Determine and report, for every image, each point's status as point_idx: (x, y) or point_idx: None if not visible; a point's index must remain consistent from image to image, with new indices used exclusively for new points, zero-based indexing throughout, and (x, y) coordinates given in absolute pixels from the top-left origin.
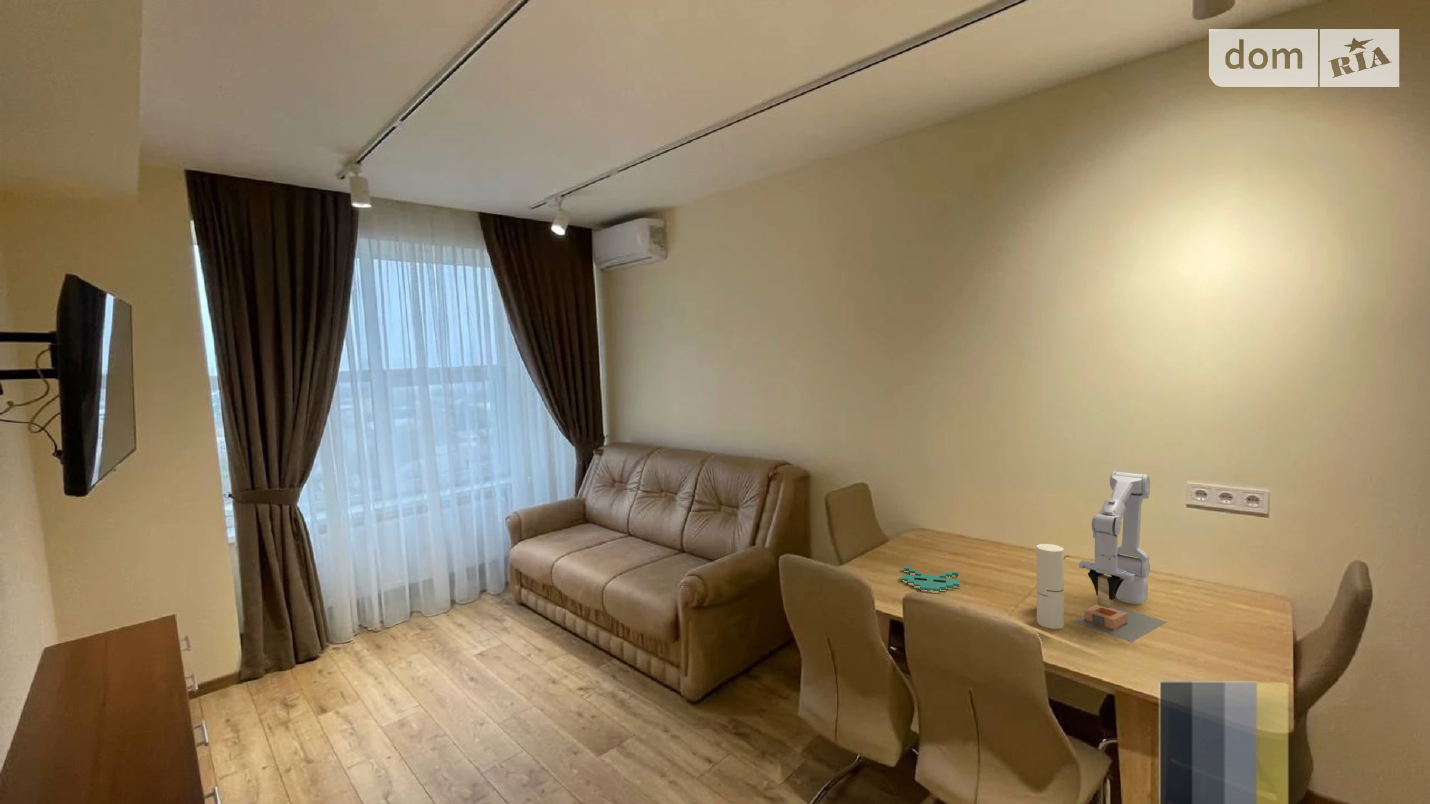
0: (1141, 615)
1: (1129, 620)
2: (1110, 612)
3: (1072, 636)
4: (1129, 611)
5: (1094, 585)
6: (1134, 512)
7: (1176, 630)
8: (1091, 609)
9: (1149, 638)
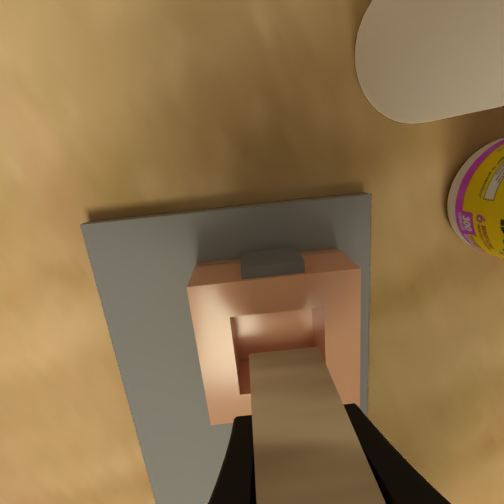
0: None
1: None
2: None
3: (286, 42)
4: None
5: (419, 485)
6: None
7: (117, 483)
8: (341, 313)
9: (109, 350)
